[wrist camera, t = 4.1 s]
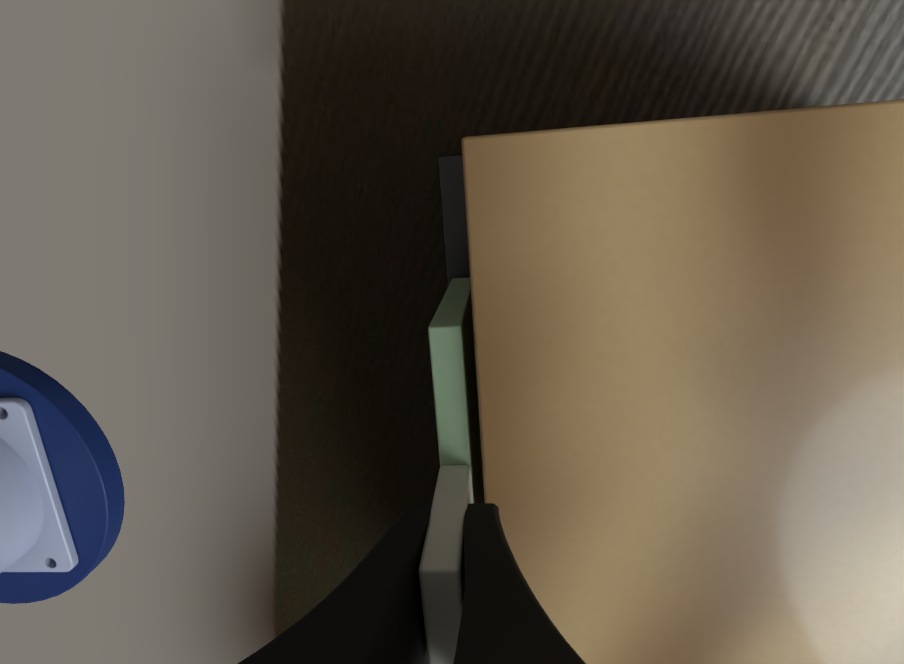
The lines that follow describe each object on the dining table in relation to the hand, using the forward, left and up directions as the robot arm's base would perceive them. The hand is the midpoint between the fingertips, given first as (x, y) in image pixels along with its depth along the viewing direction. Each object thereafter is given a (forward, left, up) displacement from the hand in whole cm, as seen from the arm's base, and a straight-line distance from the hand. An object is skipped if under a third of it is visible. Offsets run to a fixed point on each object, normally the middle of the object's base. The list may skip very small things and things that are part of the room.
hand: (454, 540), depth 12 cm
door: (0, 0, -8) cm, 8 cm away
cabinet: (+6, -1, -9) cm, 11 cm away
